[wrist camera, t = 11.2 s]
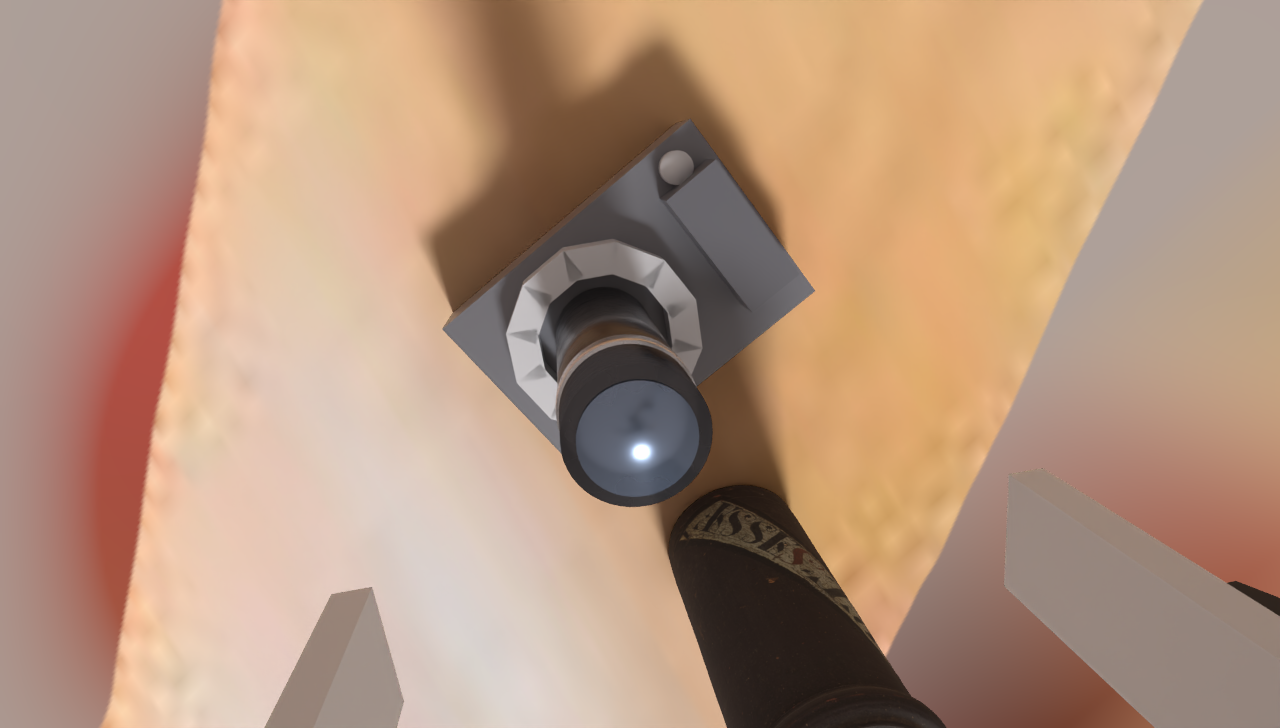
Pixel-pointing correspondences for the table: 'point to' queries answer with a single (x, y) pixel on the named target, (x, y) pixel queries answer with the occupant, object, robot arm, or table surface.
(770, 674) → the container
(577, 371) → the lens
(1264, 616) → the robot arm
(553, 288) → the camera body
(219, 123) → the table surface
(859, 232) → the table surface
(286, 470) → the table surface
